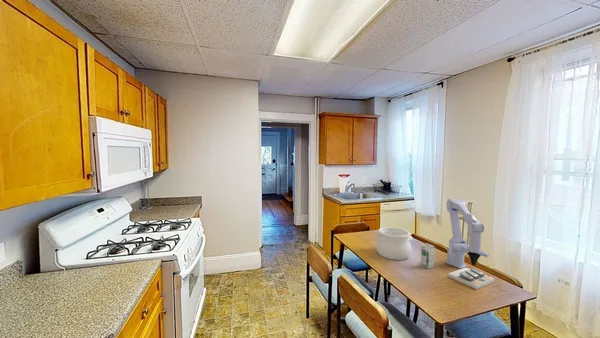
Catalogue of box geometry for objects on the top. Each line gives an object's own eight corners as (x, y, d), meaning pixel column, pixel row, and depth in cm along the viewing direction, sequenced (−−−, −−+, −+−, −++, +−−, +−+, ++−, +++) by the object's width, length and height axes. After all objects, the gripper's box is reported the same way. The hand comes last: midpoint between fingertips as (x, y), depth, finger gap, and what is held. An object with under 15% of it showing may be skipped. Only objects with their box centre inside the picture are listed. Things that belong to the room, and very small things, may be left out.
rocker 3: (470, 270, 153) (470, 269, 153) (473, 269, 155) (473, 267, 154) (480, 275, 148) (480, 274, 148) (484, 274, 149) (484, 273, 149)
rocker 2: (464, 271, 150) (465, 270, 150) (468, 270, 152) (468, 269, 152) (475, 278, 145) (475, 277, 145) (478, 276, 147) (479, 275, 147)
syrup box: (420, 265, 168) (420, 243, 167) (426, 263, 170) (427, 242, 169) (427, 268, 162) (428, 246, 162) (433, 267, 165) (434, 245, 164)
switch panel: (448, 276, 152) (448, 273, 152) (465, 270, 160) (465, 267, 160) (476, 289, 138) (476, 285, 138) (494, 281, 146) (494, 278, 146)
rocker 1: (459, 273, 148) (459, 272, 148) (463, 272, 150) (463, 271, 149) (469, 280, 143) (469, 279, 143) (473, 278, 145) (473, 277, 144)
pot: (406, 249, 196) (406, 227, 195) (417, 262, 172) (418, 237, 171) (372, 247, 199) (372, 226, 198) (378, 260, 174) (379, 236, 173)
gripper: (458, 239, 153) (457, 261, 154) (484, 247, 141) (483, 271, 141) (465, 238, 157) (463, 259, 158) (491, 245, 144) (490, 268, 145)
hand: (473, 264), depth 150 cm, fingers closed
